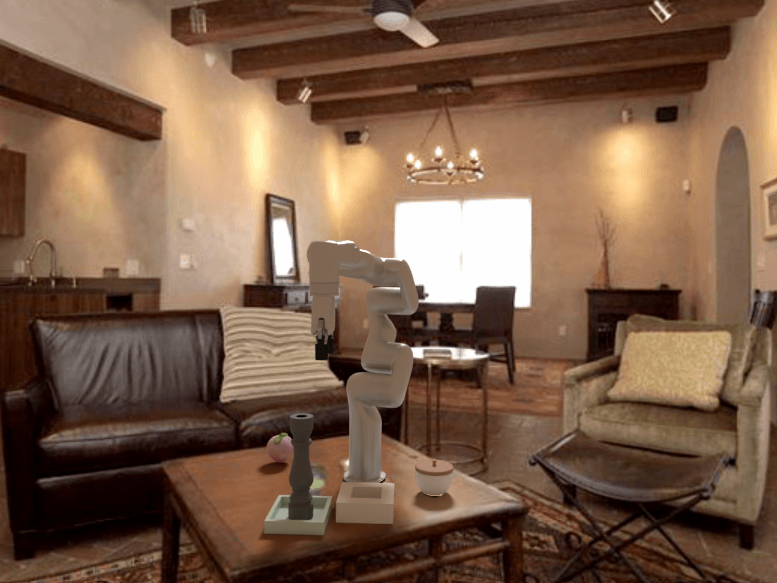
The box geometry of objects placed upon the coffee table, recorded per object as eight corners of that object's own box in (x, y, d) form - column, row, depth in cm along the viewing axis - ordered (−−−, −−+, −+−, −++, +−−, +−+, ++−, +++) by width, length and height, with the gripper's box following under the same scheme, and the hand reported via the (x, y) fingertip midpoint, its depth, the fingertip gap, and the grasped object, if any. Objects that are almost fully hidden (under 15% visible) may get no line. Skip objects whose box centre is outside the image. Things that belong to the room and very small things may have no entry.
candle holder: (283, 516, 146) (283, 415, 145) (303, 509, 150) (304, 411, 149) (298, 523, 141) (298, 420, 141) (318, 516, 146) (319, 416, 145)
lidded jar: (442, 484, 172) (443, 452, 171) (459, 497, 162) (460, 463, 161) (408, 488, 168) (409, 456, 167) (424, 502, 158) (424, 467, 157)
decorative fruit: (270, 458, 193) (270, 428, 192) (295, 458, 193) (295, 428, 192) (263, 467, 183) (263, 436, 183) (289, 468, 183) (289, 436, 183)
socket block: (341, 500, 158) (342, 481, 158) (394, 501, 158) (394, 483, 158) (335, 522, 144) (336, 502, 144) (393, 524, 144) (393, 503, 144)
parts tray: (278, 506, 154) (278, 494, 154) (332, 507, 153) (332, 496, 153) (264, 533, 138) (264, 520, 138) (323, 535, 137) (324, 522, 137)
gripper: (315, 287, 158) (315, 350, 159) (303, 292, 141) (303, 362, 142) (343, 287, 158) (343, 351, 159) (334, 292, 140) (334, 363, 142)
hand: (324, 356), depth 150 cm, fingers open, 9 cm apart
